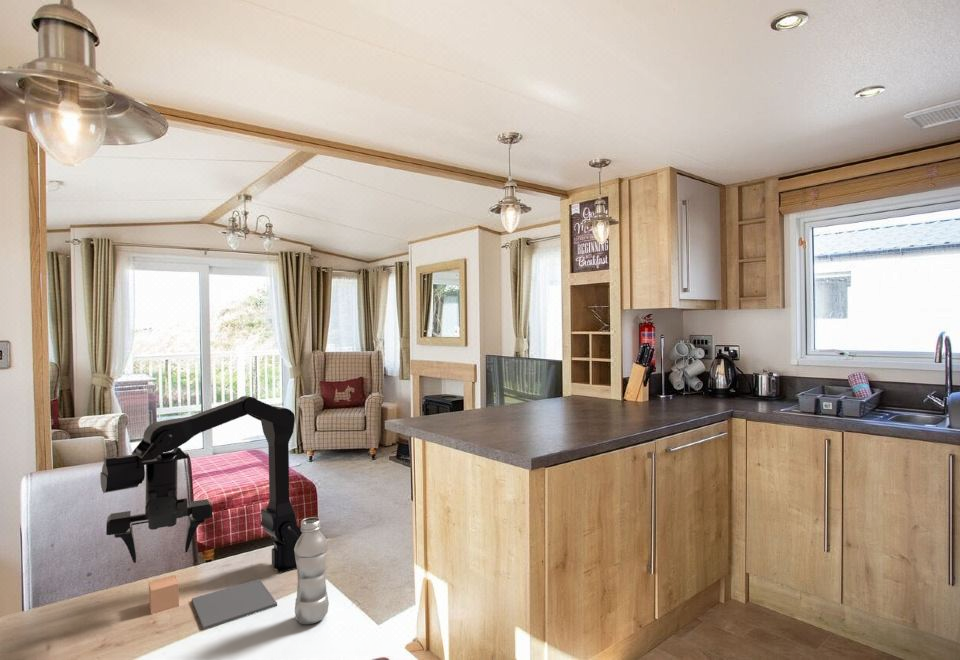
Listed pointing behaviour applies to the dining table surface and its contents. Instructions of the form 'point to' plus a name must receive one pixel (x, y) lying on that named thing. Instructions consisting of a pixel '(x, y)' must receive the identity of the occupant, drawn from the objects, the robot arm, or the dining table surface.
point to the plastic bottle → (311, 573)
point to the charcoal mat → (232, 603)
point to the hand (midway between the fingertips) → (161, 556)
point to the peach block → (163, 594)
